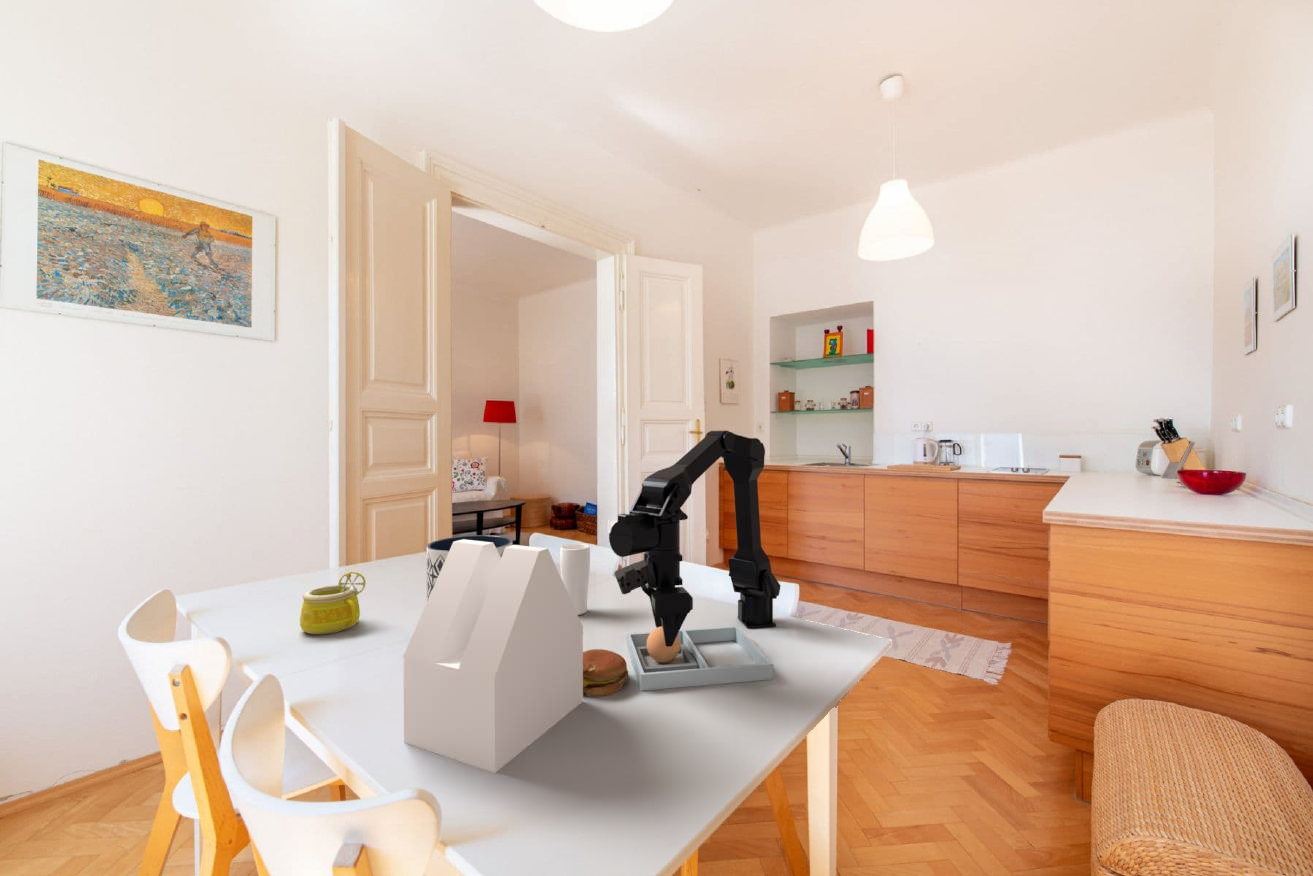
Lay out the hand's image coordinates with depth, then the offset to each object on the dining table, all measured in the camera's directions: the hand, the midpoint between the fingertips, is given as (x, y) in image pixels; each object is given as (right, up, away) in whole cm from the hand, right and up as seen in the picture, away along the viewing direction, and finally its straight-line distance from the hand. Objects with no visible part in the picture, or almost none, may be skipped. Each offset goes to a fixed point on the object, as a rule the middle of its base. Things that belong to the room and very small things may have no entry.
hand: (663, 636), depth 95 cm
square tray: (0, -5, 0) cm, 5 cm away
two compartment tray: (+5, -5, +1) cm, 8 cm away
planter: (-43, -5, +26) cm, 50 cm away
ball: (0, -5, 0) cm, 5 cm away
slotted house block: (-24, -6, -18) cm, 30 cm away
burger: (-11, -6, -7) cm, 14 cm away
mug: (-69, -5, +18) cm, 71 cm away
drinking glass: (-20, -5, +28) cm, 35 cm away
